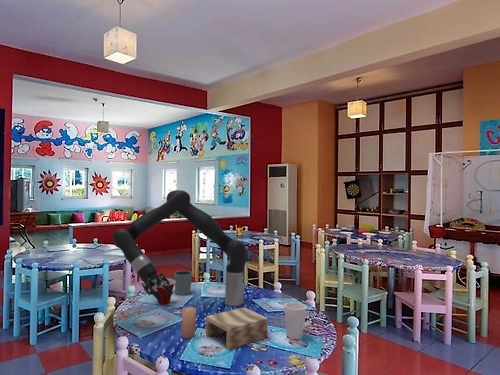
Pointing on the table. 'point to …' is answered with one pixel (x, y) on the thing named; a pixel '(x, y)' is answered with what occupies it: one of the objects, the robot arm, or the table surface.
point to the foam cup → (295, 319)
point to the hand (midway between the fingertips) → (166, 297)
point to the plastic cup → (163, 293)
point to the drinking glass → (182, 282)
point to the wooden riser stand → (238, 326)
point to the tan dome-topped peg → (188, 322)
